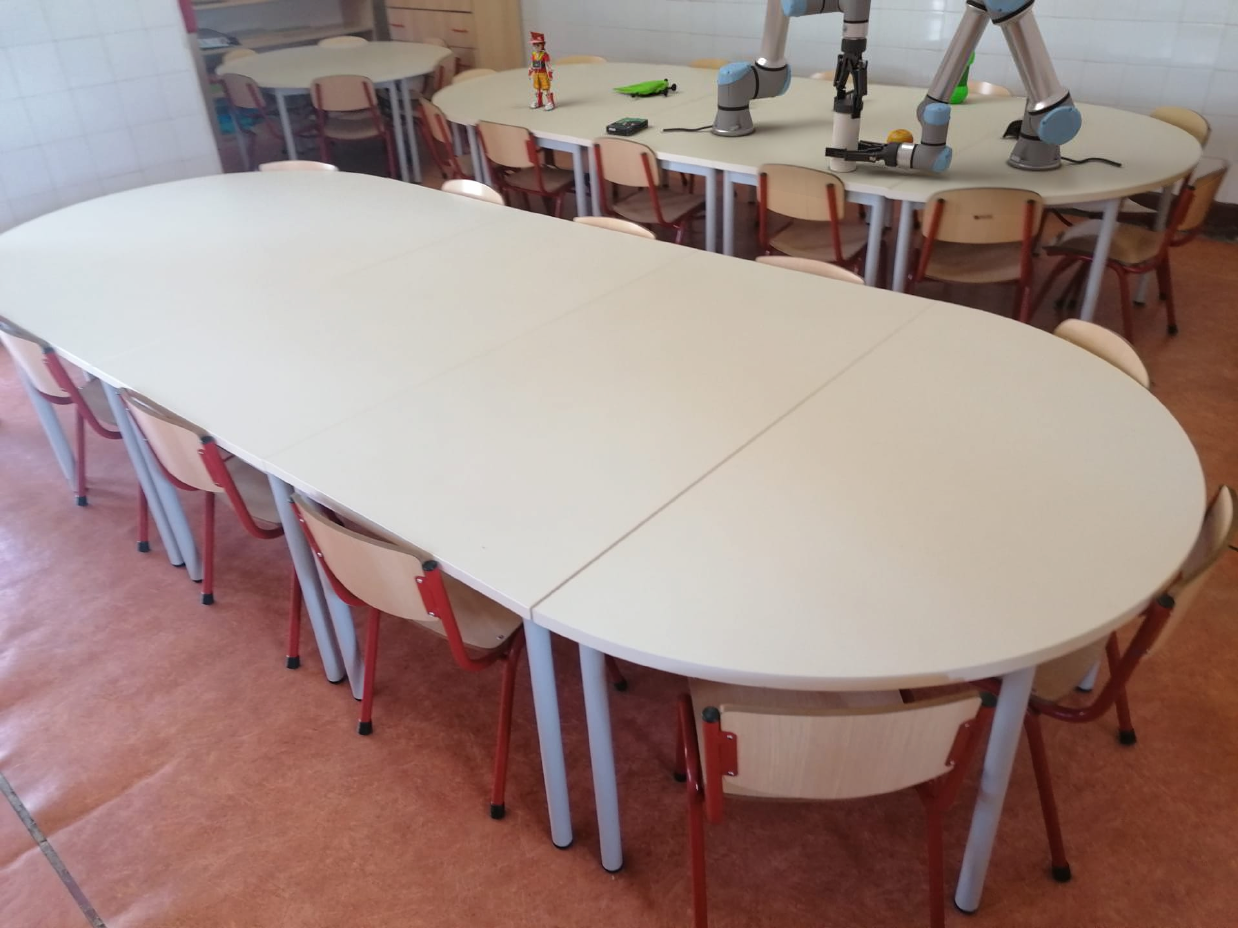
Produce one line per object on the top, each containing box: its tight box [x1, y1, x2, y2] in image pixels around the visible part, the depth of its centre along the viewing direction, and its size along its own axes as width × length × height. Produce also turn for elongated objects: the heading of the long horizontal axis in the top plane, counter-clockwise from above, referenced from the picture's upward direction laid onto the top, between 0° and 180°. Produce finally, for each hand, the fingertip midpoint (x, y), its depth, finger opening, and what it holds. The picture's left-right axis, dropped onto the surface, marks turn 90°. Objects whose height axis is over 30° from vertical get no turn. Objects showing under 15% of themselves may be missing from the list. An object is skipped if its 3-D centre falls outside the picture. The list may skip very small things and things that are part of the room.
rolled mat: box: [1002, 115, 1024, 140], centre depth 316 cm, size 30×9×10 cm
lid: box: [833, 99, 864, 113], centre depth 282 cm, size 9×9×2 cm
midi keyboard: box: [832, 88, 855, 111], centre depth 357 cm, size 18×1×5 cm, turn 138°
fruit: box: [886, 128, 915, 144], centre depth 303 cm, size 8×8×8 cm
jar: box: [829, 111, 862, 173], centre depth 288 cm, size 8×8×20 cm
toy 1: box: [527, 31, 556, 111], centre depth 374 cm, size 12×9×30 cm
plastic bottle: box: [949, 50, 976, 104], centre depth 348 cm, size 10×10×25 cm
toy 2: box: [612, 78, 677, 99], centre depth 396 cm, size 28×5×30 cm
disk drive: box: [605, 116, 649, 136], centre depth 345 cm, size 10×3×15 cm
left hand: (847, 115), depth 284 cm, fingers closed on lid, 9 cm apart
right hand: (830, 148), depth 292 cm, fingers closed on jar, 8 cm apart
